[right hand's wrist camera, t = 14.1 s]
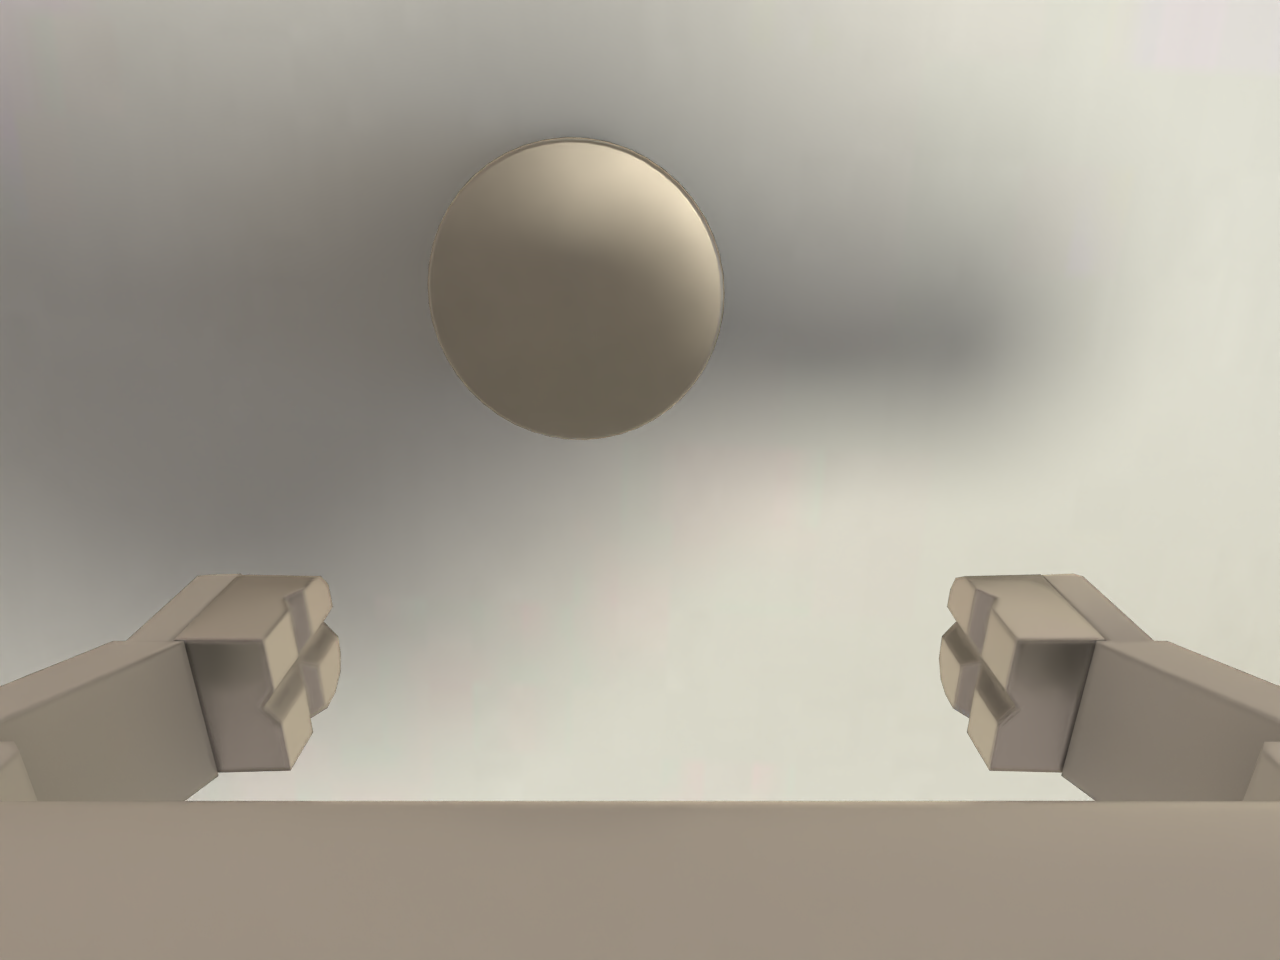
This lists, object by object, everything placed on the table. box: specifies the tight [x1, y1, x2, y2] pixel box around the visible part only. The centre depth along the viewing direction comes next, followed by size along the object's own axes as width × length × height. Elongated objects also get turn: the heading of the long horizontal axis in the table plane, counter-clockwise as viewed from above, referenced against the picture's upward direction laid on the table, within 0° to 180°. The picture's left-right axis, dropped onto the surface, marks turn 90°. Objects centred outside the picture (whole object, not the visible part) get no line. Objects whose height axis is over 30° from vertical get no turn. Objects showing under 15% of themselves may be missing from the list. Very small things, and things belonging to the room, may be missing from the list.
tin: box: [428, 137, 725, 440], centre depth 14 cm, size 5×5×4 cm
